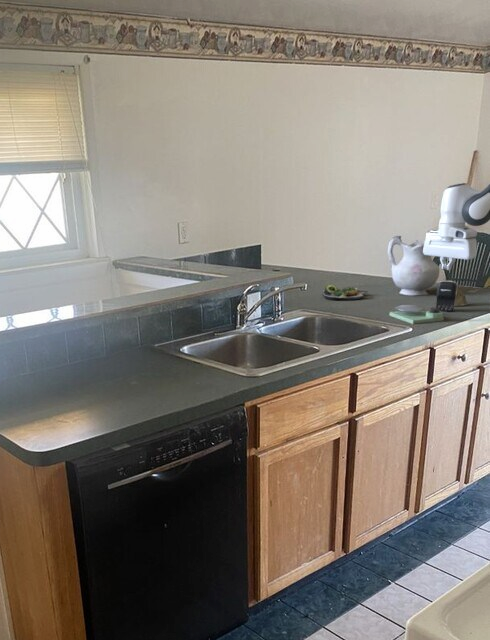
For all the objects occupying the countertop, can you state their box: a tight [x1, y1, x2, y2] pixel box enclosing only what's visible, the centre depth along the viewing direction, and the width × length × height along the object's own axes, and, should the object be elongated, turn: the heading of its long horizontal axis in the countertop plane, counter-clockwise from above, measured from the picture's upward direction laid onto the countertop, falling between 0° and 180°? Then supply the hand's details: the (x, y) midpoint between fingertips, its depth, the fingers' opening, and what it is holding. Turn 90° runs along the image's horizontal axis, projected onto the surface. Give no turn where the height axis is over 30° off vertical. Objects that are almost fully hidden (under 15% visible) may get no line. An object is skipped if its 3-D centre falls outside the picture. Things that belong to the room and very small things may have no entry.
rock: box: [446, 279, 468, 307], centre depth 261 cm, size 11×9×10 cm
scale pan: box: [395, 304, 425, 312], centre depth 247 cm, size 10×10×1 cm
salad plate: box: [321, 283, 369, 301], centre depth 286 cm, size 19×18×5 cm
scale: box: [389, 309, 445, 325], centre depth 246 cm, size 15×14×3 cm
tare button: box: [429, 307, 439, 313], centre depth 241 cm, size 3×3×2 cm
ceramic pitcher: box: [387, 235, 440, 296], centre depth 283 cm, size 22×20×25 cm
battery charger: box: [435, 280, 458, 313], centre depth 252 cm, size 7×4×11 cm, turn 54°
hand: (446, 269), depth 243 cm, fingers closed
